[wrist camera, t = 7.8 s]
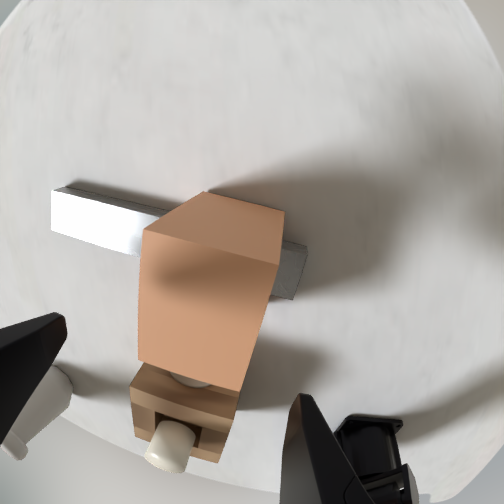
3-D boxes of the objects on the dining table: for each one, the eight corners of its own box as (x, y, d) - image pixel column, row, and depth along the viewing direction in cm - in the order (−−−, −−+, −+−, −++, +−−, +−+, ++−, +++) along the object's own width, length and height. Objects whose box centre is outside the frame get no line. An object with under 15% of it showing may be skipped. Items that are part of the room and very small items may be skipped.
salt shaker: (45, 379, 29) (-7, 443, 17) (39, 351, 27) (-23, 420, 15) (80, 402, 29) (31, 474, 17) (77, 376, 27) (17, 457, 15)
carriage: (285, 211, 17) (279, 265, 10) (258, 305, 20) (239, 391, 13) (203, 191, 17) (143, 228, 10) (187, 286, 20) (138, 359, 13)
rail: (306, 246, 18) (307, 255, 17) (292, 288, 19) (292, 300, 18) (64, 186, 19) (51, 190, 17) (63, 223, 20) (51, 229, 19)
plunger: (197, 428, 17) (186, 462, 14) (194, 446, 18) (183, 476, 16) (158, 415, 17) (143, 447, 15) (158, 434, 18) (145, 463, 16)
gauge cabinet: (248, 357, 22) (234, 417, 16) (231, 411, 25) (217, 463, 19) (161, 331, 22) (129, 383, 17) (159, 388, 25) (135, 436, 19)
